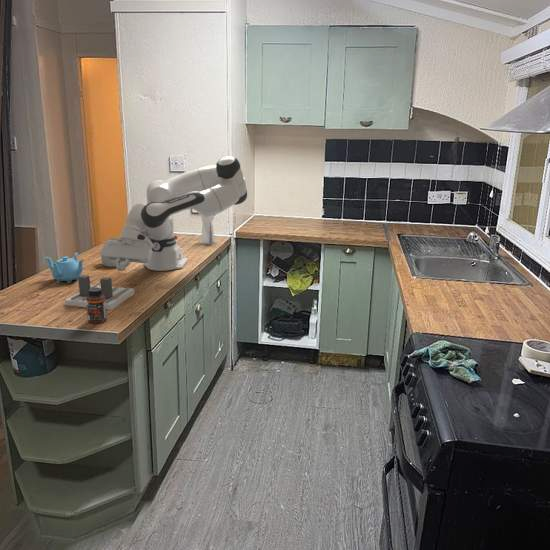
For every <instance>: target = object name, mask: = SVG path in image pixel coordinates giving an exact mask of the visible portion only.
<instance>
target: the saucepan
mask: <svg viewBox="0 0 550 550" xmlns="http://www.w3.org/2000/svg"><path fill="white" fill-rule="evenodd" d="M100 259H101V265H103V266H105V267H108V268H109V267H110V268H116V267H117V262H116V261H115V260H105V259H103V258H102V257H101V256H100ZM124 263H125V261H122V263H120V265H123V264H124Z"/></svg>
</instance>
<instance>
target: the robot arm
mask: <svg viewBox="0 0 550 550" xmlns="http://www.w3.org/2000/svg"><path fill="white" fill-rule="evenodd" d="M146 188H147V189H146V201H147V203H143V202H141V203H140V202H138V203H135V204H134V205H133V206H132V207H131V209H130V210H129V212H128V215H127V218H126V220H125V223H124V224H125V225H124V226H123V228H122V230H121V232H120V235H119V238H114V237H110V238H108V239H106V240H105V243H104V245H103V246H102V248H101V250H100V251H99V252H100V258H101V257H102V258H103V259H105V260H115V261H116V262H117V267H115V269H116V271H118V272H119V271H122V272H125V271H126V268H127V267H129V266H130V265H131V263H140V264H143V266H144V267H146V268H147V269H148V270H151V271H158V272H159V271H161V272H164V271H165V272H166V271H173V270H179V269H181V270H182V269H183V267H184V266H185V265H186V263H188V261H189V259H188V258H187V257H185V256H184V255H183V253H184V252H183V249H182V248H181V247H180V246H179V245H178V244H177V240H178V235H177V234H176V235H175V233H174V230H175V229H174V215H175V214H178V213H181V212H183V211H186V210H194V211H196V213H198V214H199V215H200V216H201V215H202V216H205V217H210V216H213V217H214V216H216V215H219V214H220V213H222V212H224V211H226V210H228V209H229V208H231V207H233V206H234V205H235V206H237V205H241V204H243V203H244V202H245V201H246V200H247V199H248V188H247V185H246V178H245V176H244V173H243V170H242V167H241V163H240V161H239V160H238V158H237V157H235V156H233V155H232V156H231V155H227V156H223V157H221V158H220V159H218V161H217V162H216V164H213V165H207V166H202V167H199V168H196V169H195V168H194V169H192V170H190V171H189V170H188V171H186V172H183V173H180V174H177V175H175V176H172V177H171V178H168V179H165V180H164V179H163V180H162V179H156V180H153V181H151V182H150V183H149V184H148V186H147V187H146ZM122 261H125V263H124V264H123V265H120V263H122Z"/></svg>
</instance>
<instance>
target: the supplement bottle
mask: <svg viewBox="0 0 550 550" xmlns="http://www.w3.org/2000/svg"><path fill="white" fill-rule="evenodd" d="M86 302H87V307H86V311H87V320H88V321H87V322H89V323H90V324H101V323H104V322H105V321H106V320H107V310H106V305H105V296H104V295H103V294H102V292H101V288H97V287H96V288H90V289H89V295H88V296H87V297H86Z"/></svg>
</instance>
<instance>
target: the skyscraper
mask: <svg viewBox="0 0 550 550" xmlns="http://www.w3.org/2000/svg"><path fill="white" fill-rule="evenodd" d="M200 218H201V222H202V227H201V242H200V245H203V246H204V245H205V246H213V245H216V243H217V244H218V241H215V234H214V232H215V231H214V225H213V221H214V220H213V219H214V216H210V217H205V216H202V215H200Z"/></svg>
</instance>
